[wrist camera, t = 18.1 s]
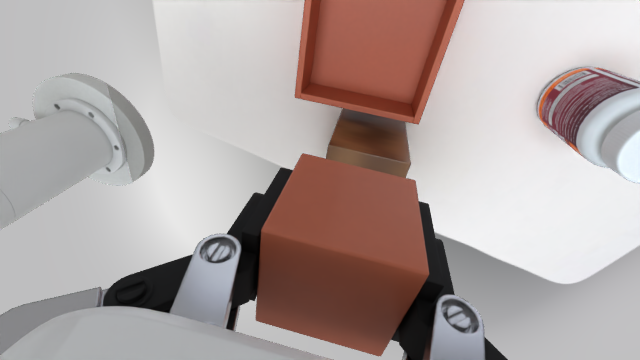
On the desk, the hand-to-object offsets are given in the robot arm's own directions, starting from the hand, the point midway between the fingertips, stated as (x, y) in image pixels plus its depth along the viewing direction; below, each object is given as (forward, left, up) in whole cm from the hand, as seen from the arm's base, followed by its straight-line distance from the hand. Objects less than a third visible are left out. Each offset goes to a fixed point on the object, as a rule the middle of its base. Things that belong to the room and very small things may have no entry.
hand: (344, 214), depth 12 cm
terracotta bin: (-1, +4, -22) cm, 23 cm away
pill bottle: (+19, +2, -23) cm, 30 cm away
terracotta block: (0, 0, 0) cm, 0 cm away
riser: (+1, -7, -22) cm, 23 cm away
